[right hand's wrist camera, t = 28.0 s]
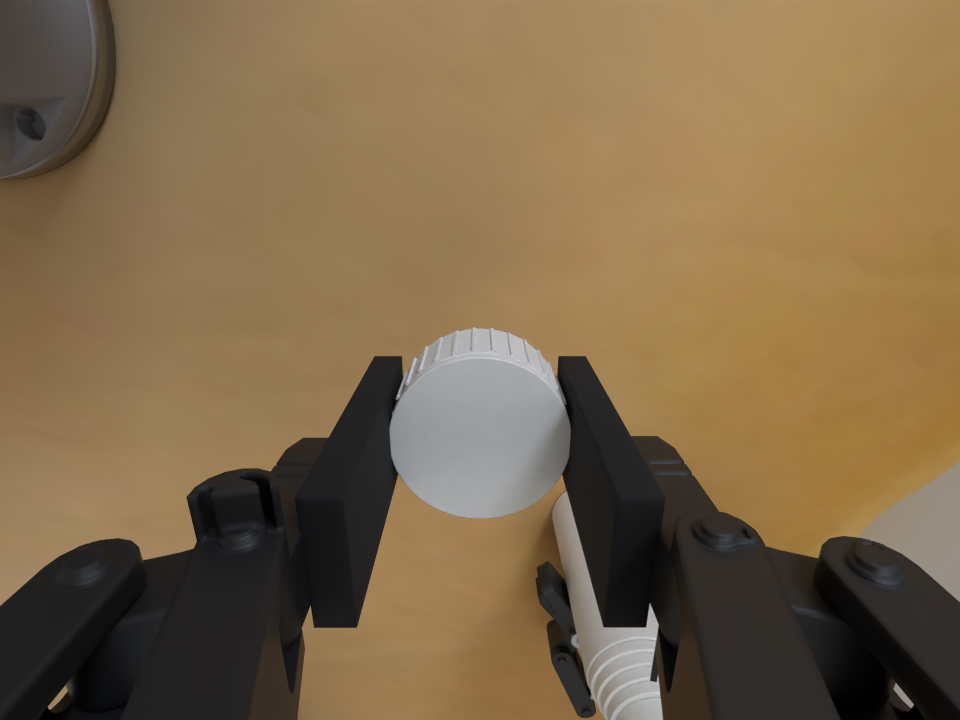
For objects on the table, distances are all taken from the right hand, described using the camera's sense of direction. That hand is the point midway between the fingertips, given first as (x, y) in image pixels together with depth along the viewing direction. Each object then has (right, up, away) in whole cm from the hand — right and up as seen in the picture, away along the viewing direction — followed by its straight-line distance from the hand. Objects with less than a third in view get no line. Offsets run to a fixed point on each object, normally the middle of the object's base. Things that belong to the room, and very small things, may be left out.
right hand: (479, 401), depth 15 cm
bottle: (+7, -9, +21) cm, 24 cm away
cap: (0, -1, -2) cm, 2 cm away
